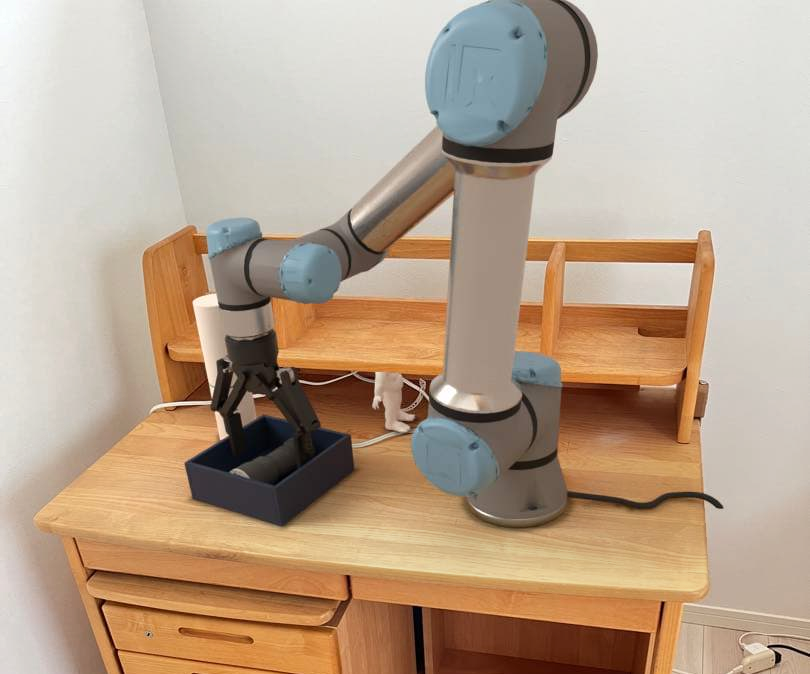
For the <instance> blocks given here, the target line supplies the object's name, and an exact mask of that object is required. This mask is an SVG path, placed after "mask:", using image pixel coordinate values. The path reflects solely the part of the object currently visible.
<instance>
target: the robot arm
mask: <svg viewBox="0 0 810 674" xmlns="http://www.w3.org/2000/svg"><path fill="white" fill-rule="evenodd" d="M597 41H598V40H597V36H596V34H595V31H594V28H593V25H592V24H591V22H590V21H589V18H588V17H587V16H586V14H585V13H584V12H583V11H582V10H581V9H580V8H579V7H578V6H577V5H575V4H574V3H573V2H571V1H568V0H487V1H483V2H480V3H478V4H476V5H473V6H469V7H467V8H465V9H463V10H462V11H460V12H459V13H457V14H456V15H454V16H453V17H452V18H451V19H450V20H449V21H448V22H447V23H446V24H445V26H444V27H442V29H441V30H440V32H439V33H438V35H437V37H436V38H435V40H434V42H433V44H432V46H431V48H430V51H429V55H428V58H427V61H426V67H425V72H424V73H425V74H424V92H425V100H426V103H427V107H428V110H429V113H430V114H431V115H432V116H434V118H435V119H436V120H435V121H436V126H435V127H434V128H433V129H432V130H430V131H429V132H428V133H427V134H426V135H425V136H424V137H423V138H422V139H421V140H420V141H419V142H418V143H417V144H416V145H415V146H414V147H413V148H412V149H411V150H410V151H409V152H407V154H406V155H405V156H404V157H402V158H401V160H399V161H398V162H397V163H396V164H395V165H394V166H393V167H392V168H391V169H390V170H389V171H388V172H387V173H386V174H385V175H384V176H383V177H382V178H381V179H379V181H378V182H376V183H375V184H374V186H373V187H371V188H370V190H368V191H367V192H366V193H365V194H364V195H363V196H362V197H361V198H360V199H359V200H358V201H357V202H356V203H355V204H354V205H352V208H350V209H349V210H348V211H347V212H346V213H345V214H344V215H343V216H342V217H340V218H339V219H338V220H337V221H336V222H334V223H332V224H331V225H328V226H325V227H322V228H320V229H318V230H315V231H312V232H310V233H308V234H305V235H302V236H299V237H297V238H294V239H291V240H277V239H270V238H269V239H268V238H263V233H262V231H261V227H260V226H261V225H260V223H259V222H258V221H257V220H256V219H253V218H252V217H251V218H250V217H233V218H232V217H231V218H224V219H221V220H217V221H214V222H212V223H210V224H209V226H207V228H206V231H205V234H206V235H205V236H206V237H205V238H206V245H207V253H208V254H207V259H208V260H209V264H210V268H211V274H212V279H213V283H214V288H215V289H214V290H215V294H217V299H218V305H219V310H220V316H221V322H222V328H223V333H225V334H226V337H225V343H226V348H227V354H228V355H227V356H225V357H223V358H221V359H219V360H217V361H216V364H217V378H216V382H215V387H214V392H213V397H211V403H210V410H211V411H212V412H213V413H215V412H216V411H217V412H219V413H220V415H221V416H222V417H223V421H224V425H225V431H226V433H227V434H228V435H229V440H230V445H231V450H232V455H234V456H237V455H239V454H240V453H242V452H243V451H245V450H246V449H247V447H246V442H245V437H244V431H243V426H242V421H241V415H240V413H237V412H236V413H235V414H234V412H235V411H236V410H238V409H237V407H238V405H239V404H240V402H241V400H242V399H243V397H244V395H245V394H246V392H247V390H248V392H251V393H252V394H253V393H256V394H258V395H261V396H265V397H266V398H267V400H269V401H272V403H273V404H274V405H275V406H276V408H277V409H278V411H279V412H280V413H281V415H282V416H283V417H284V419H286V420H287V421H288V422H289V423H290V425H291V426H292V427H293V429H294V430H295V431H296V433H294V434H293V435H292V436H293V442H294V449H295V456H296V462H297V469H299V468H300V467H302V466H303V465H305V464H306V463H307V462H309V461H310V460H311V453H310V451H311V450H312V448H313V445H312V438H311V433H312V432H313V431H315V430H316V429H318V428H319V427H320V428H321V426H322V423H321V420H320V419H319V417H318V415H317V413H316V411H315V410H314V408H313V406H312V403H311V401H310V399H309V398H308V396H307V394H306V392H305V389H304V388H303V386H302V384H301V382H300V379H299V375H298V370H297V368H296V367H295V366H293V365H292V366H290V367H287V368H281V367H280V365H279V364H278V357H279V353H280V350H279V343H278V335H277V332H276V330H275V329H274V327H275V325H276V324H275V317H274V312H273V305H272V298H274V299H280V300H286V301H291V302H295V303H297V304H304V305H309V304H314V305H315V304H318V305H321V304H326V303H328V302H329V301H331V300H332V299H333V298H334V295H335V293H336V292H338V290H339V288H340V285H341V283H342V282H344V281H345V280H348V279H350V278H352V277H355V276H357V275H359V274H362V273H365V272H369V271H370V270H372V269H374V267H376V266H377V265H379V264H381V263H382V262H383V261H384V260H385V259H386V258H387V255H388V253H389V250H390V249H391V248H392V247H393V246H395V244H397V243H398V242H399V241H400V240H401V239H403V238H404V237H405V236H406V235H407V234H409V233H410V232H411V231H412V230H413V229H415V228H416V227H417V226H418V225H419V224H420V223H421V222H422V221H424V220H425V219H426V218H427V217H428V216H430V215H431V214H432V213H434V211H436V210H437V209H438V208H439V207H441V205H443V204H444V203H445V202H446V201H448V200H449V199H450V198H451V197H452V196H453V198H452V199H453V201H452V216H451V217H452V218H451V235H450V249H449V266H448V281H447V282H448V283H447V297H446V310H445V311H446V313H445V314H446V315H445V329H444V345H443V361H442V372H441V373H439V374H438V375H437V376H435V377H434V378H433V379H432V380H431V382H430V384H429V392H428V410H427V411H428V412H427V417H426V419H424V420H422V421H421V422H420V423H418V424H417V426H416V428H415V430H414V431H413V433H412V436H411V440H410V451H411V456H412V459H413V462H414V465H415V466H416V468H417V469H418V471H419V472H420V473H421V474H423V476H424V477H425V479H426V481H427V482H428V483H429V484H431V485H432V486H433V487H434V488H436V489H437V490H439V491H441V492H443V493H445V494H447V495H449V496H452V497H458V498H466V505H467V509H469V511H470V513H472V514H473V515H474V516H475V517H477V518H478V519H480V520H482V521H484V522H486V523H489V524H492V525H496V526H500V527H505V528H506V527H507V528H528V527H529V528H530V527H535V526H536V527H537V526H541V525H544V524H547V523H549V522H552V521H554V520H556V519H557V518H559V517H560V516H561V515H562V514H563V513H564V512H565V510H566V508H567V506H568V498H569V499H576V500H577V499H578V500H587V501H595V502H603V503H611V504H616V505H620V506H625V507H628V508H632V509H637V510H638V509H639V510H646V509H652V508H655V507H657V506H659V505H660V504H661V503H663V502H665V501H668V500H672V499H697V500H701V501H702V500H703V501H705V502H707V503H709V504H711V505H712V506H713V507H714V508H715V509H719V510H723V509H725V507H724V506H723V504H722V503H721V502H720V501H719V500H718V499H716V498H715V497H713V496H712V495H710V494H708V493H704V492H699V491H671V492H666V493H663V494H661V495H659V496H658V497H656V498H655V499H653V500H651V501H646V502H644V501H643V502H642V501H641V502H639V501H634V500H630V499H627V498H622V497H617V496H611V495H603V494H595V493H587V492H580V491H579V492H578V491H569V490H568V486H567V483H566V480H565V476H564V473H563V471H562V467H561V464H560V461H559V457H558V454H559V434H560V419H561V405H562V404H561V402H562V388H563V385H564V384H563V383H562V368H561V367H562V366H561V365H560V364H559V362H558V361H557V360H555V359H554V358H552V357H551V356H548V355H546V354H541V353H539V352H538V353H537V352H531V351H525V350H516V345H517V338H518V337H517V336H518V329H519V328H518V327H519V319H520V311H521V302H522V293H523V285H524V276H525V269H526V260H527V253H528V252H527V251H528V243H529V233H530V226H531V218H532V209H533V200H534V192H535V185H536V184H535V183H536V176H537V174H538V172H539V171H540V170H541V169H542V168H543V167H544V166H545V165H547V164H548V163H549V162H550V161H551V160H552V158H553V155H554V147H555V141H556V132H557V123H558V120H559V119H561V118H562V117H564V116H566V115H567V114H568V113H570V112H572V111H573V110H574V109H575V108H576V107H577V106H578V105H579V104H580V103H581V102H582V100H584V98H585V96H587V94H588V92H589V90H590V88H591V86H592V84H593V82H594V79H595V75H596V71H597V68H598V67H597V66H598V58H599V53H598V52H599V50H598V42H597ZM233 372H234V373H235V374H236V376H237V380H236V382H235V383H234V385H233V387H232V388H233V389H232V391H231V393H230V395H229V391H230V386H231V382H232V377H233ZM275 388H277V389H275ZM274 389H275V390H274ZM228 395H229V396H228ZM300 423H301V424H302V425H300Z"/></svg>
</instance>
